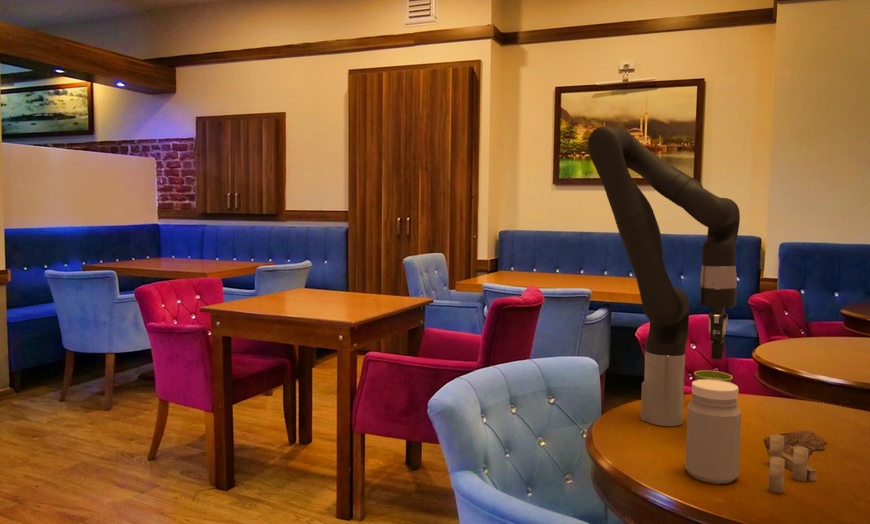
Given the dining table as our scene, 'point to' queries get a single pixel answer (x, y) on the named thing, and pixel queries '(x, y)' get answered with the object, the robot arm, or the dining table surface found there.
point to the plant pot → (712, 375)
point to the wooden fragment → (800, 442)
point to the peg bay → (787, 464)
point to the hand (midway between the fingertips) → (717, 355)
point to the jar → (713, 432)
